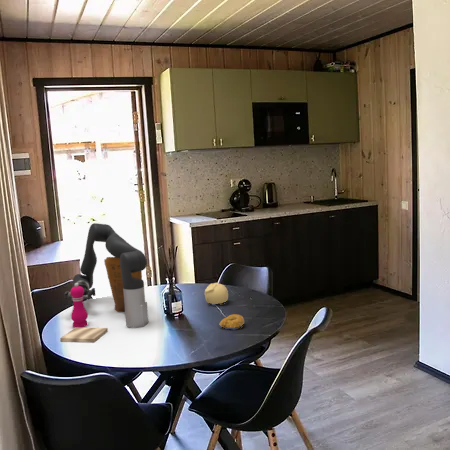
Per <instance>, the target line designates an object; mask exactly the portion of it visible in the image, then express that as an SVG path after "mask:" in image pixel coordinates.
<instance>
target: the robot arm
mask: <svg viewBox="0 0 450 450" xmlns="http://www.w3.org/2000/svg"><path fill="white" fill-rule="evenodd" d="M95 242H99V243H105V250H106V251H108V253H109V254H110V255H111V256H112V257H117V258H120V268H121V275H122V283H123V291H124V305H125V312H124V317H125V327H128V328H132V329H133V328H140V327H141V328H142V327H145V326H146V325H147V324H148V323H149V314H148V310H149V309H148V302H147V301H146V294H145V282H144V279H143V278H142V279H138V278H133V277H132V275H131V273H133V272H138V271H144V270H145V269H146V268H147V266H148V262H147V261H148V260H147V258H146V255H145V253H143V252H142V251H141V250H139V249H138V248H136V247H134V246H133V245H131V244H130V243H129V242H127V241H126V240H125V239H124V238H123V237H122V236H120V235H119V234H118V233H117V232H116V231H115V230H114V228H112V226H111V225H110V224H106V223H97V222H95V223H92V224H91V225H90V227H89V228H88V234H87V239H86V245H85V250H84V255H83V259H82V262H81V265H80V268H79V270H80V273H78V274H75V275H74V276H73V277H72V287H75V283H78V284H79V286H81V287H83V289H84V294H83V296H84V297H83V298H84V299H85V298H87V299H90V298H92V297H94V296H96V288H94V287H93V285H94V272H95V268H96V267H97V262H98V259H97V254H96V252H95V249H94V246H95V245H94V244H95ZM63 294H64V295H63V296H64V299H66V300H69V301H72V296H71V294H70V291H69V290H66V291H65V292H64V293H63Z"/></svg>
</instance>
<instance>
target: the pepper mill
mask: <svg viewBox="0 0 450 450" xmlns="http://www.w3.org/2000/svg"><path fill="white" fill-rule="evenodd" d="M69 292H70V294H71V296H72V298H71V301H72V303H73V308H72V312H71V314H70V317H71V320H72V321H73V322H72V327H73V328H76V327H82V328H86V327H87V325H88V320H87V319H88V318H89V317H88V316H89V314H88V311H87V309H86V307H85V306H84V299H85V297H84V296H83V294H84V289H83V287H81V286H79V284H78V283H75V287H74V286H72V288H71V289H70V291H69ZM83 297H84V298H83Z"/></svg>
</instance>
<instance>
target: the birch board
mask: <svg viewBox="0 0 450 450" xmlns="http://www.w3.org/2000/svg"><path fill="white" fill-rule="evenodd" d="M108 332H109V329H108V327H76V328H75V327H73V329H71V330H70V331H68V332H67V333H65V334H64V335H63V336H61V337H60V342H63V343H65V342H66V343H67V342H68V343H69V342H70V343H96V342H97V340H99V339H100V338H101V337H103V336H104V335H105V334H107V333H108Z"/></svg>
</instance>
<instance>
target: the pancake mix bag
mask: <svg viewBox="0 0 450 450" xmlns="http://www.w3.org/2000/svg"><path fill="white" fill-rule="evenodd" d="M103 262H104V265H105V270H106V274H107V279H108V283H109V286H110V291H111V294H112V298H113V302H114V311H116V312H117V313H119V312H120V313H125V305H124V291H123V283H122V275H121V268H120V258H117V257H114V256H108V257H106V258H105V259H104V261H103ZM142 271H143V270H142ZM142 271H138V272H133V273H131V275H132V277H133V278H138V279H142V280H143V278H142V277H143V275H142Z"/></svg>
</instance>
